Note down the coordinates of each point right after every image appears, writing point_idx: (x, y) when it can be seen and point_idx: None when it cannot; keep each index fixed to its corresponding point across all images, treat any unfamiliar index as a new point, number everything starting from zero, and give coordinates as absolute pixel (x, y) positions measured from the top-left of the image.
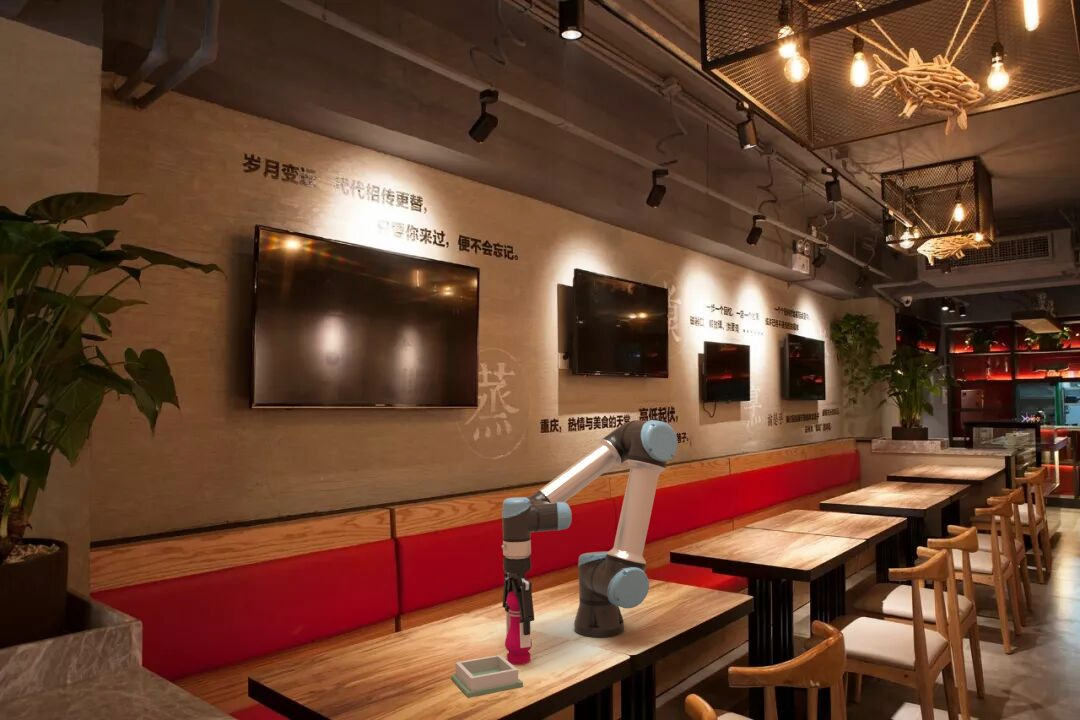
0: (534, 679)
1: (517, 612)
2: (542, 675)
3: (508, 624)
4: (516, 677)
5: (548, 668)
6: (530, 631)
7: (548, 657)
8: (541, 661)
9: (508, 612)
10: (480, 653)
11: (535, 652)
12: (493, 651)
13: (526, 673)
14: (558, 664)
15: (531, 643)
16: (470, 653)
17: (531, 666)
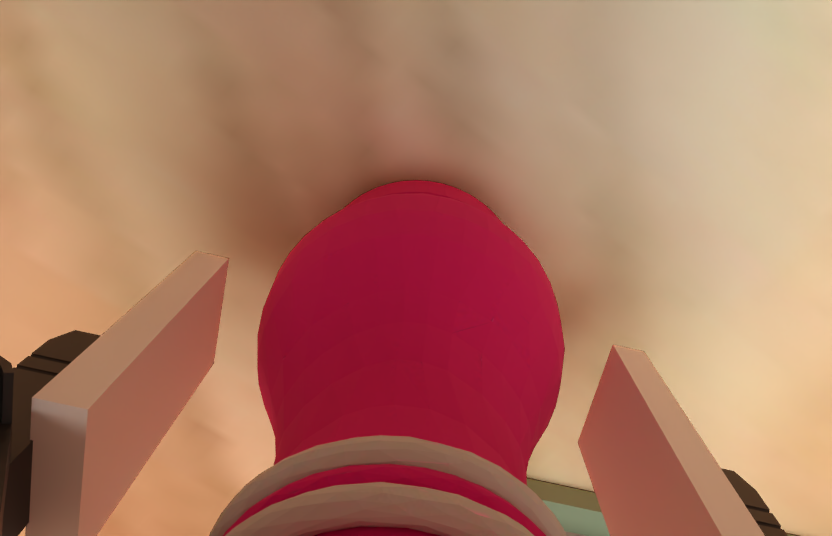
0: (829, 421)
1: None
2: (822, 332)
3: (160, 430)
4: None
5: (751, 199)
6: (706, 447)
7: (537, 12)
8: (572, 137)
9: (51, 530)
10: None
11: (333, 23)
12: (78, 308)
13: (690, 395)
14: (752, 62)
15: (525, 250)
16: None
17: (602, 279)
